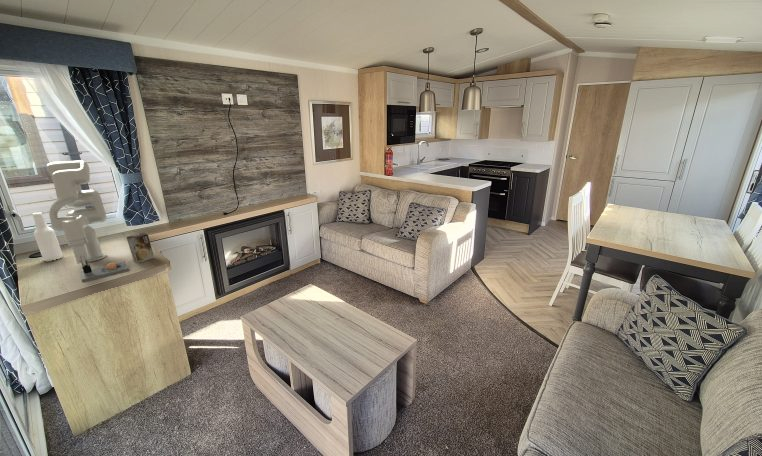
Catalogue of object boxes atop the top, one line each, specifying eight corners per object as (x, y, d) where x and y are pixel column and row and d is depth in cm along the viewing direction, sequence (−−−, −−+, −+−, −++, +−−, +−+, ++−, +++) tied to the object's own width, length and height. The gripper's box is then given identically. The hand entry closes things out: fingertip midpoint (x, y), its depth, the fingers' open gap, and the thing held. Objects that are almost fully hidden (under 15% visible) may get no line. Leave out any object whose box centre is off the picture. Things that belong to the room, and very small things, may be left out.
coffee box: (149, 256, 201) (143, 232, 195) (154, 258, 197) (148, 233, 192) (133, 261, 193) (126, 236, 188) (137, 263, 190) (130, 238, 185)
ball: (119, 265, 181) (113, 272, 180) (117, 264, 184) (112, 271, 183) (110, 261, 178) (105, 268, 177) (109, 260, 181) (103, 267, 180)
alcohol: (67, 256, 202) (51, 211, 192) (51, 262, 193) (34, 215, 184) (55, 255, 203) (39, 210, 193) (39, 261, 195) (21, 214, 185)
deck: (82, 282, 167) (81, 279, 167) (81, 273, 177) (80, 271, 177) (129, 270, 180) (128, 268, 180) (126, 263, 190) (125, 260, 190)
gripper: (68, 240, 171) (78, 270, 176) (68, 247, 160) (79, 279, 166) (86, 236, 175) (96, 266, 181) (87, 243, 165) (98, 274, 171)
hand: (88, 272), depth 174 cm, fingers closed
